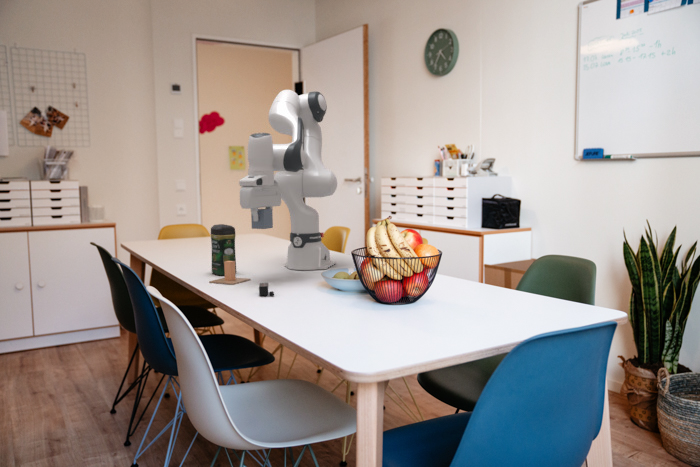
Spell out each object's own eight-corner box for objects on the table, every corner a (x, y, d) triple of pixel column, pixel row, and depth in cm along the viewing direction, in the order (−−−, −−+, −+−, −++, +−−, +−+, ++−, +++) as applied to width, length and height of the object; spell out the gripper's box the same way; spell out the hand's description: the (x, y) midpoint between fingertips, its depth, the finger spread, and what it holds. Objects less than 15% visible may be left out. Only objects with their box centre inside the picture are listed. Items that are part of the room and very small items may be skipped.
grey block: (260, 227, 202) (259, 208, 201) (272, 227, 200) (272, 208, 199) (251, 228, 197) (251, 209, 197) (264, 229, 195) (263, 209, 194)
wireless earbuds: (259, 297, 172) (258, 287, 172) (259, 292, 179) (259, 283, 179) (274, 296, 173) (273, 286, 172) (274, 292, 180) (274, 282, 179)
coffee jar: (208, 273, 215) (207, 224, 213) (227, 271, 220) (226, 223, 218) (219, 276, 208) (218, 225, 206) (239, 274, 212) (238, 224, 211)
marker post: (227, 278, 204) (227, 258, 204) (250, 280, 200) (250, 260, 200) (209, 282, 195) (208, 262, 195) (233, 284, 191) (232, 264, 191)
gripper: (270, 180, 208) (271, 218, 209) (235, 180, 189) (236, 222, 191) (285, 180, 205) (285, 218, 206) (251, 180, 187) (252, 223, 188)
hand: (262, 220), depth 198 cm, fingers closed on grey block, 5 cm apart
